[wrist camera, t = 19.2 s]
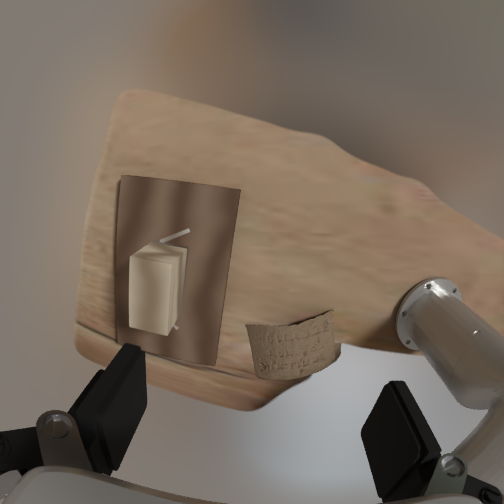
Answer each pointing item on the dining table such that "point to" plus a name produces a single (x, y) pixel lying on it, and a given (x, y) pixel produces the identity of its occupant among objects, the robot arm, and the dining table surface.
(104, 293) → the dining table surface
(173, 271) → the cream carton
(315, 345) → the clay tablet
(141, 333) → the walnut board
